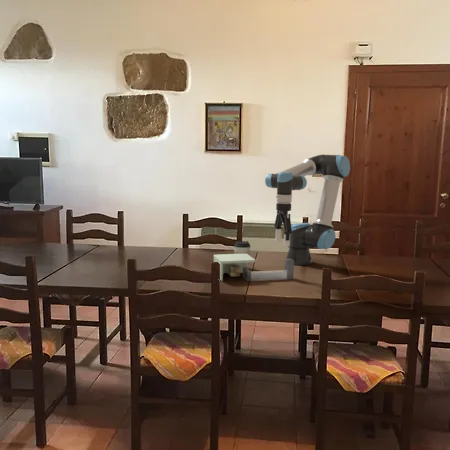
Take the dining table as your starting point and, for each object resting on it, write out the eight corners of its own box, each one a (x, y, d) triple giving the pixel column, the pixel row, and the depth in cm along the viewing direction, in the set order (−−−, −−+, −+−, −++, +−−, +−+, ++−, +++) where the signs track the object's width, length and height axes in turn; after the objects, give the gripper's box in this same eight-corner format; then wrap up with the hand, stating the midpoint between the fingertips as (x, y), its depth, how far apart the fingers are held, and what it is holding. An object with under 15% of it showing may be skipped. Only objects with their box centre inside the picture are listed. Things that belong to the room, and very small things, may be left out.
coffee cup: (236, 270, 278) (236, 243, 276) (231, 266, 287) (232, 240, 285) (252, 269, 281) (252, 242, 278) (246, 265, 289) (247, 239, 287)
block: (237, 273, 272) (237, 264, 271) (240, 276, 267) (240, 266, 266) (228, 274, 271) (228, 264, 270) (230, 276, 266) (231, 267, 265)
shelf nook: (246, 272, 275) (246, 253, 274) (254, 279, 261) (255, 259, 259) (213, 273, 271) (213, 254, 269) (220, 281, 256) (220, 261, 255)
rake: (286, 274, 272) (287, 256, 270) (293, 279, 263) (293, 260, 262) (242, 276, 266) (242, 257, 264) (247, 281, 257) (248, 261, 256)
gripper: (269, 200, 271) (267, 239, 274) (284, 205, 247) (283, 249, 250) (282, 199, 273) (281, 239, 276) (299, 205, 248) (297, 248, 252)
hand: (282, 244), depth 263 cm, fingers open, 13 cm apart
